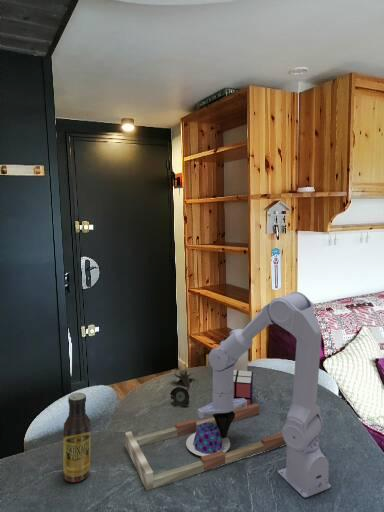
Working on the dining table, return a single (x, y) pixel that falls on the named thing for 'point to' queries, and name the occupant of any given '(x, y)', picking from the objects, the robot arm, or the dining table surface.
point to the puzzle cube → (243, 385)
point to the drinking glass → (242, 362)
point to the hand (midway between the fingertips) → (222, 436)
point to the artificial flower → (181, 389)
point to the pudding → (207, 440)
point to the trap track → (206, 461)
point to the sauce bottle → (76, 440)
